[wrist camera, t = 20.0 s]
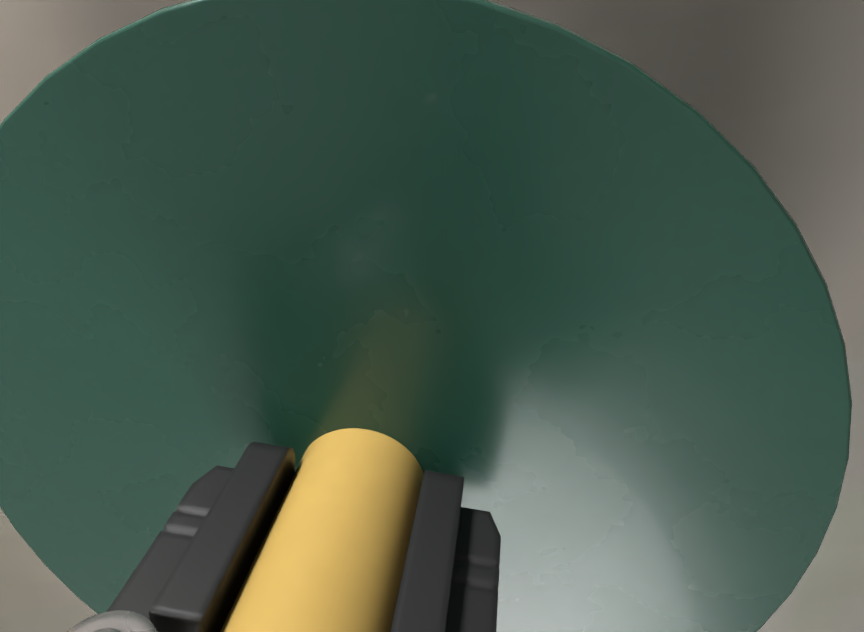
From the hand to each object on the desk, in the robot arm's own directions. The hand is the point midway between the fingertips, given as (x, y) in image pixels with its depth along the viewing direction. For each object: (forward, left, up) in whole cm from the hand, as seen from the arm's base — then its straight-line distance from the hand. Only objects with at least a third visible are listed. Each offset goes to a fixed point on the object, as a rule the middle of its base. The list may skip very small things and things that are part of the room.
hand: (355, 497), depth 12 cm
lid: (0, 0, -1) cm, 1 cm away
